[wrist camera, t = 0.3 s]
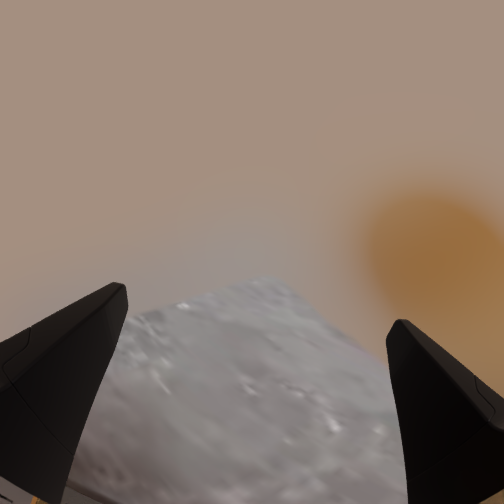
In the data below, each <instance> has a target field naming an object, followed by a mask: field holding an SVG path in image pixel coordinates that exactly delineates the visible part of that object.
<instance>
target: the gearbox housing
mask: <svg viewBox="0 0 504 504" xmlns="http://www.w3.org/2000/svg"><path fill="white" fill-rule="evenodd" d="M31 504H49V503H47V502H45V501H43V500H41V499H39V498H37V497H35V496H33V498H32V502H31ZM61 504H102V503H100V502H98V501H96V500H93V499H91V498H89V497H87V496H85V495H83V494H81V493H79V492H77V491H75V490H73V489H71V488H69V487H67V486H65V489H64V493H63V497H62V500H61Z"/></svg>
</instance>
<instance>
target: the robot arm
mask: <svg viewBox="0 0 504 504" xmlns="http://www.w3.org/2000/svg"><path fill="white" fill-rule="evenodd" d="M127 311H128V299H127V291H126V286H125V285H124V284H121V283H116V282H112V283H110V284H108V285H106V286H105V287H103V288H101V289H99V290H97V291H95V292H93V293H91V294H89V295H87V296H85V297H83V298H82V299H80V300H78V301H76V302H74V303H72V304H71V305H68V306H67V307H65V308H63V309H61V310H59V311H57V312H56V313H54V314H52V315H50V316H48V317H46V318H45V319H43V320H41V321H40V322H38V323H36V324H34V325H32V326H31V327H29V328H27V329H25V330H23V331H21V332H20V333H18V334H16V335H14V336H13V337H11V338H9V339H7V340H5V341H3V342H0V504H31V502H32V498H33V496H35V497H37V498H39V499H41V500H43V501H45V502H47V503H49V504H61V500H62V497H63V493H64V489H65V485H66V482H67V478H68V475H69V472H70V468H71V465H72V462H73V459H74V455H75V452H76V449H77V446H78V443H79V440H80V437H81V434H82V431H83V428H84V426H85V423H86V420H87V417H88V415H89V412H90V409H91V407H92V404H93V401H94V399H95V396H96V394H97V391H98V389H99V386H100V384H101V381H102V379H103V377H104V374H105V372H106V369H107V367H108V365H109V362H110V360H111V358H112V356H113V353H114V351H115V348H116V345H117V342H118V339H119V336H120V332H121V329H122V326H123V323H124V320H125V317H126V314H127ZM386 348H387V354H388V363H389V371H390V379H391V384H392V389H393V394H394V399H395V404H396V409H397V415H398V421H399V427H400V433H401V439H402V446H403V454H404V462H405V470H406V480H407V493H408V504H504V398H502V397H501V396H500V395H499V394H497V393H496V392H495V391H493V390H492V389H491V388H490V387H488V386H487V385H486V384H485V383H484V382H482V381H481V380H480V379H479V378H478V377H477V376H476V375H474V374H473V373H472V372H471V371H470V370H468V369H467V368H466V367H465V366H464V365H462V364H461V363H460V362H459V361H457V359H455V358H454V357H453V356H452V355H450V354H449V353H448V352H447V351H446V350H444V349H443V348H442V347H441V346H440V345H438V344H437V343H436V342H435V341H433V340H432V339H431V338H430V337H428V336H427V335H426V334H425V333H423V332H422V331H421V330H420V329H418V328H417V327H416V326H415V325H413V324H412V323H411V322H410V321H408V320H406V319H398V320H396V321H395V322H394V324H393V326H392V328H391V330H390V332H389V333H388V335H387V338H386Z"/></svg>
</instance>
